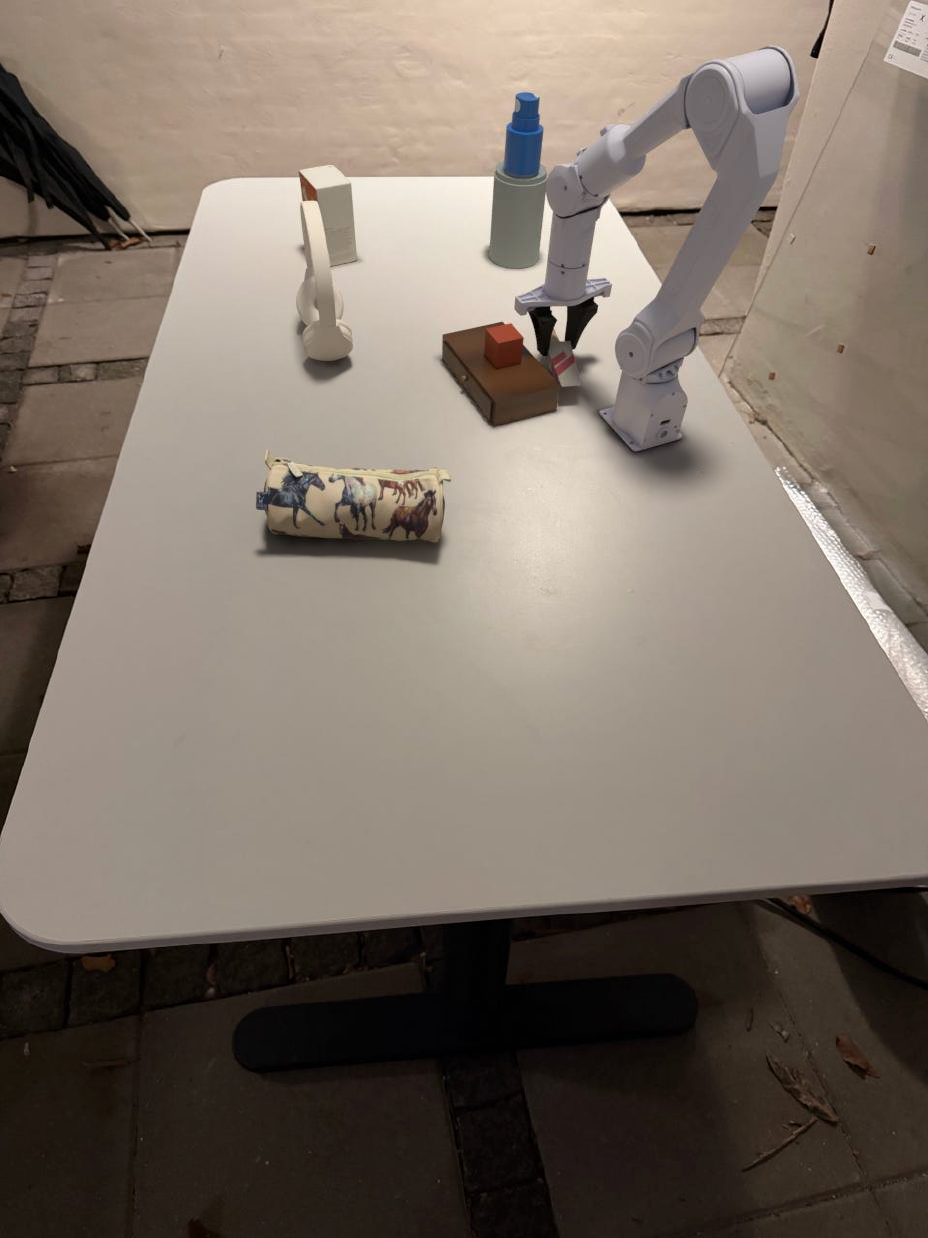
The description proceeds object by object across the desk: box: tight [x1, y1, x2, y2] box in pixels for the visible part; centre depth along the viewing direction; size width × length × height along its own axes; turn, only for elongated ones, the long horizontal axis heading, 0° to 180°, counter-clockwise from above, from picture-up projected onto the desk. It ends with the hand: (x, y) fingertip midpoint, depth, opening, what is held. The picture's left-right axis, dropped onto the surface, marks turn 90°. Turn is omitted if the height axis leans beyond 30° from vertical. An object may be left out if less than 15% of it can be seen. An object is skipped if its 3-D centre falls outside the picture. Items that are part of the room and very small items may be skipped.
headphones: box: [295, 201, 354, 362], centre depth 111 cm, size 7×18×20 cm, turn 13°
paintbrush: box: [543, 328, 582, 388], centre depth 115 cm, size 4×3×20 cm
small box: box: [298, 164, 358, 267], centre depth 132 cm, size 8×6×13 cm
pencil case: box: [255, 449, 452, 543], centre depth 90 cm, size 22×8×10 cm, turn 88°
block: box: [484, 322, 525, 369], centre depth 109 cm, size 4×4×4 cm
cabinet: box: [441, 321, 561, 427], centre depth 112 cm, size 18×11×4 cm, turn 25°
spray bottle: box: [488, 91, 548, 270], centre depth 129 cm, size 9×9×25 cm
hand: (556, 349), depth 115 cm, fingers closed on paintbrush, 4 cm apart
